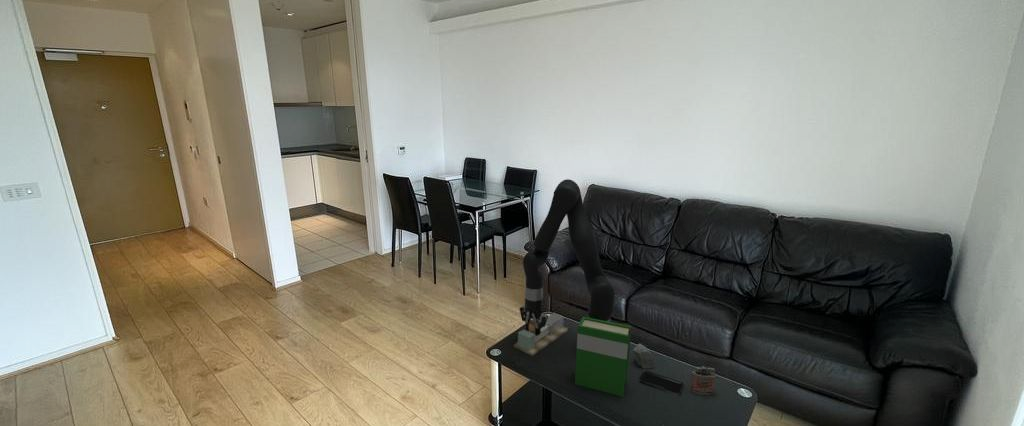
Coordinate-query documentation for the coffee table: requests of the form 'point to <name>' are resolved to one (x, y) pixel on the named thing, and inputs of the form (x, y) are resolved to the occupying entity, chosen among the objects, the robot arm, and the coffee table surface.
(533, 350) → the oak base
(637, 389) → the coffee table surface
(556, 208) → the robot arm
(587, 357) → the hardback book
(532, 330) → the tube
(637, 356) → the mineral specimen
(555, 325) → the aluminium sleeve
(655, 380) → the phone
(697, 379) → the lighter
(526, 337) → the sage socket
